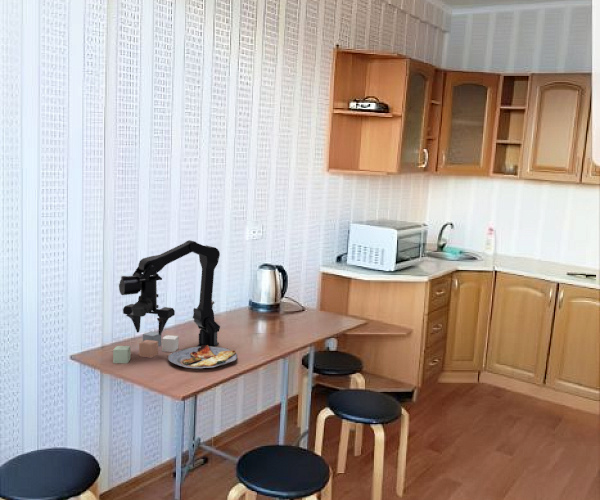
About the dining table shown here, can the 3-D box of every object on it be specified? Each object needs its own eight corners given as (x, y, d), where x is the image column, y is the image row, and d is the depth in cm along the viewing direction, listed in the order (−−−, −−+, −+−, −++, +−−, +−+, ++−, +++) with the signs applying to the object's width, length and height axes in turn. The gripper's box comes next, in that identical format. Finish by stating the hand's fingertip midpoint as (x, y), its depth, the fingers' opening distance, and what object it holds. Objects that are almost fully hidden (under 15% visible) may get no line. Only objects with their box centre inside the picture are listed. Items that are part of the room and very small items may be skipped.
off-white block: (178, 348, 242) (178, 336, 241) (174, 352, 237) (174, 339, 236) (165, 347, 242) (165, 335, 242) (161, 351, 238) (161, 338, 237)
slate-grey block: (161, 345, 245) (161, 333, 245) (152, 348, 241) (152, 336, 240) (151, 343, 248) (151, 331, 247) (142, 346, 243) (142, 334, 243)
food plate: (207, 347, 244) (207, 338, 243) (250, 360, 229) (250, 351, 229) (155, 363, 225) (155, 353, 224) (198, 378, 210) (198, 369, 210)
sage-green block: (130, 359, 227) (130, 346, 226) (127, 363, 222) (127, 349, 221) (116, 359, 227) (116, 345, 226) (113, 363, 222) (113, 349, 221)
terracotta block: (158, 354, 234) (158, 341, 233) (151, 357, 229) (151, 344, 229) (146, 352, 235) (146, 339, 235) (139, 356, 231) (139, 343, 230)
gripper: (114, 294, 224) (114, 336, 226) (160, 298, 219) (160, 341, 221) (131, 288, 235) (131, 329, 237) (175, 292, 230) (175, 334, 232)
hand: (149, 333), depth 231 cm, fingers open, 9 cm apart
